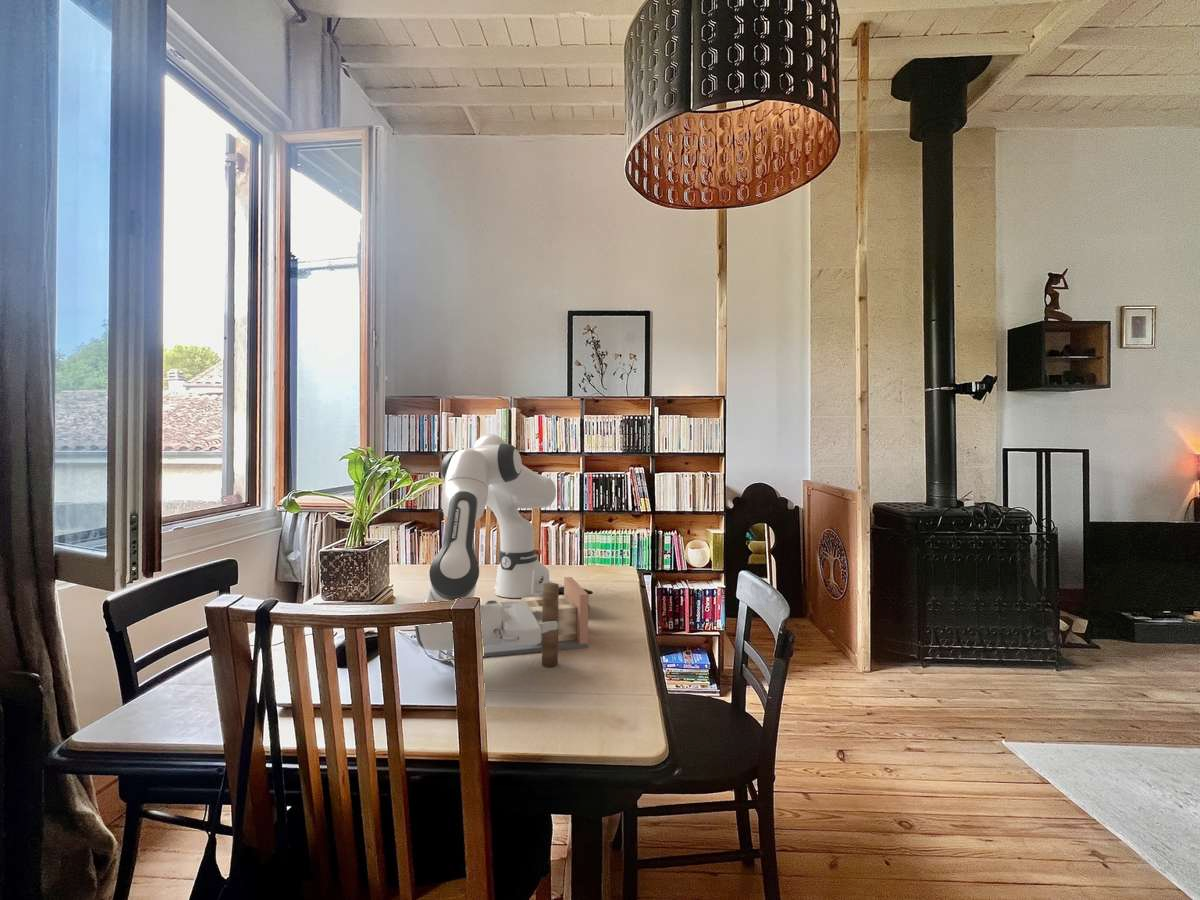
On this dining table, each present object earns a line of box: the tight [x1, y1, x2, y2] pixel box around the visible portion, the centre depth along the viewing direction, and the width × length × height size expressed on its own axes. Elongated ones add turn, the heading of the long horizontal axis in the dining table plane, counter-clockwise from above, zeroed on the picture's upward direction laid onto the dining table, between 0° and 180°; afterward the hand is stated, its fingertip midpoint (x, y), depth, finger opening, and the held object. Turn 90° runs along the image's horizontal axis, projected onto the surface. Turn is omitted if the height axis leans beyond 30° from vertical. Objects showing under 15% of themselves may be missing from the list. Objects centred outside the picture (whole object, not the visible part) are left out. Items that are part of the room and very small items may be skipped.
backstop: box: [483, 576, 589, 658], centre depth 143 cm, size 27×18×13 cm, turn 106°
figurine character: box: [559, 586, 594, 613], centre depth 168 cm, size 7×8×15 cm
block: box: [520, 595, 577, 643], centre depth 145 cm, size 12×12×8 cm
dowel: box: [541, 582, 560, 669], centre depth 128 cm, size 4×4×18 cm
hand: (554, 619), depth 128 cm, fingers open, 5 cm apart
